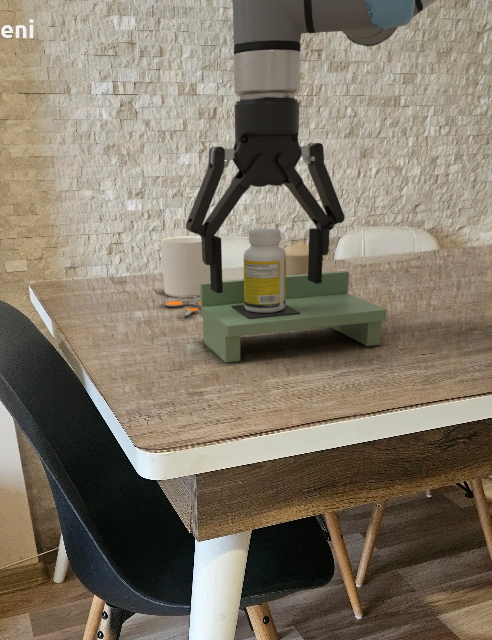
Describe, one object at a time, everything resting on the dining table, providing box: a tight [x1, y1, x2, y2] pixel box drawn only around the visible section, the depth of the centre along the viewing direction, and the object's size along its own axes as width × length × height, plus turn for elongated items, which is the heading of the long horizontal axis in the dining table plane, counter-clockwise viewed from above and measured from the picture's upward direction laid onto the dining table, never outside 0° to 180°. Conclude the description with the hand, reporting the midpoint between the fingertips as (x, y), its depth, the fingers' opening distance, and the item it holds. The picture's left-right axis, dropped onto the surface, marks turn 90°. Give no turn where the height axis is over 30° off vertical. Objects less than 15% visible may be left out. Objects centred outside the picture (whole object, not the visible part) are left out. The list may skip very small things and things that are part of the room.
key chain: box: [164, 296, 201, 317], centre depth 111 cm, size 13×7×1 cm, turn 21°
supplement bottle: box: [243, 228, 286, 313], centre depth 85 cm, size 5×5×10 cm
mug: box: [160, 235, 211, 298], centre depth 122 cm, size 12×9×9 cm
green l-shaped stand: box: [199, 270, 388, 364], centre depth 90 cm, size 12×22×8 cm, turn 108°
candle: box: [283, 241, 309, 276], centre depth 110 cm, size 6×6×10 cm
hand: (266, 286), depth 86 cm, fingers open, 13 cm apart
